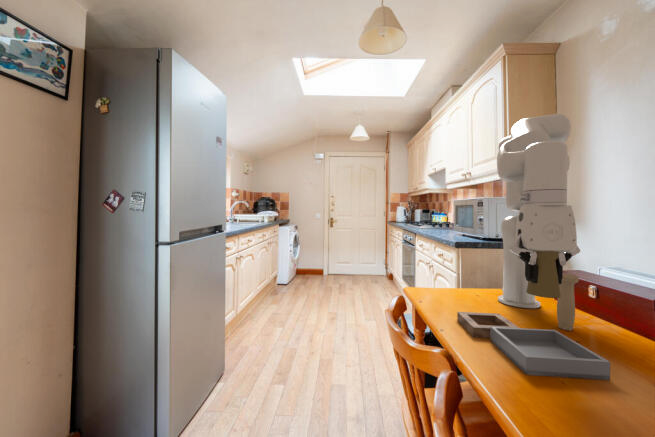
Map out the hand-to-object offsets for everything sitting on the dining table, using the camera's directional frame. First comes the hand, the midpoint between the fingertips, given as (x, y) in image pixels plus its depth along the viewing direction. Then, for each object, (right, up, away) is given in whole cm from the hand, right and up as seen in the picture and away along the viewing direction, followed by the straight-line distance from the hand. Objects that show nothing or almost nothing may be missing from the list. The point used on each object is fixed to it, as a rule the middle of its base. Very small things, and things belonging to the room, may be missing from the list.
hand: (543, 281), depth 61 cm
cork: (0, -3, 0) cm, 3 cm away
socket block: (-3, -17, +16) cm, 23 cm away
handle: (+19, -17, +16) cm, 30 cm away
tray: (0, -17, 0) cm, 17 cm away
